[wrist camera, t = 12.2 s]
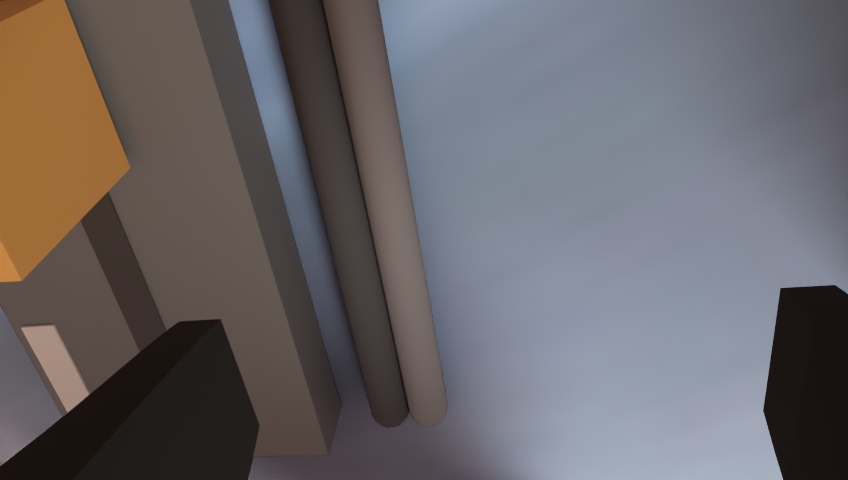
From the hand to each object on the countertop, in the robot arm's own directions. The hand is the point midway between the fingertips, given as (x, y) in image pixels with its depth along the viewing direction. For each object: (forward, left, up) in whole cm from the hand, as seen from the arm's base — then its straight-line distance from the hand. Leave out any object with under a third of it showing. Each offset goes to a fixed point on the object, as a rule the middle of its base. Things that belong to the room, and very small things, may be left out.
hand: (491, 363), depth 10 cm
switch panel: (-2, +10, -9) cm, 14 cm away
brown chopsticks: (-2, +4, -9) cm, 10 cm away
